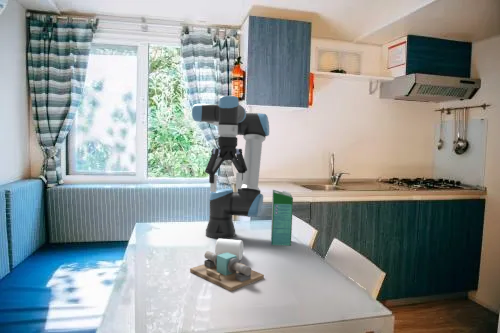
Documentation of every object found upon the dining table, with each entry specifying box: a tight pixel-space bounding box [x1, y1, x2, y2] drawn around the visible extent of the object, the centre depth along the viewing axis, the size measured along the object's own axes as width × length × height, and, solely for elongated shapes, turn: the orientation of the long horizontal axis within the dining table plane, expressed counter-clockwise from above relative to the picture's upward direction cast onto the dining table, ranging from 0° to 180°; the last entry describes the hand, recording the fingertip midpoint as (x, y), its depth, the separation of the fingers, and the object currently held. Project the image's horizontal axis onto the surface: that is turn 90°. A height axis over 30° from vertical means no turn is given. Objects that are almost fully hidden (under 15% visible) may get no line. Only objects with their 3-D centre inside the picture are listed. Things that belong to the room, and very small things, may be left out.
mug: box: [214, 238, 244, 261], centre depth 144 cm, size 12×10×8 cm
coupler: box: [217, 252, 237, 275], centre depth 125 cm, size 6×5×6 cm
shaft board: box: [189, 251, 265, 292], centre depth 125 cm, size 22×16×7 cm
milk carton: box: [270, 189, 294, 247], centre depth 166 cm, size 9×9×25 cm
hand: (226, 190), depth 137 cm, fingers open, 13 cm apart
